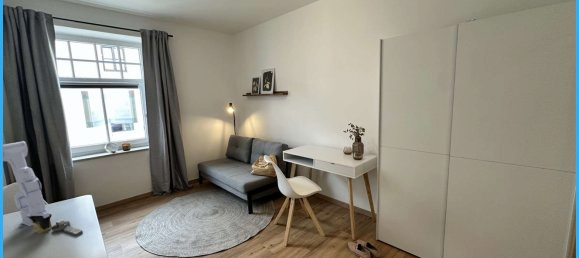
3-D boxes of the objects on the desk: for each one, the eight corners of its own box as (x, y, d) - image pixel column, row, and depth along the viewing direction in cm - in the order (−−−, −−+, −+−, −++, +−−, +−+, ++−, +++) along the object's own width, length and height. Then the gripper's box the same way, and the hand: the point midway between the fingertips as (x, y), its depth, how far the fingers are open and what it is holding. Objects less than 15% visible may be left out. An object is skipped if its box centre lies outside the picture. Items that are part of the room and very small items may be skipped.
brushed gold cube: (34, 231, 131) (32, 222, 130) (46, 226, 135) (44, 217, 134) (40, 233, 129) (37, 224, 128) (52, 228, 133) (49, 219, 132)
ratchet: (49, 231, 131) (47, 223, 130) (65, 223, 137) (63, 216, 136) (71, 239, 123) (69, 230, 122) (87, 230, 130) (85, 222, 129)
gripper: (17, 204, 128) (25, 228, 131) (33, 209, 122) (40, 234, 125) (36, 198, 134) (42, 221, 137) (51, 202, 129) (58, 226, 132)
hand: (42, 227), depth 132 cm, fingers open, 6 cm apart
